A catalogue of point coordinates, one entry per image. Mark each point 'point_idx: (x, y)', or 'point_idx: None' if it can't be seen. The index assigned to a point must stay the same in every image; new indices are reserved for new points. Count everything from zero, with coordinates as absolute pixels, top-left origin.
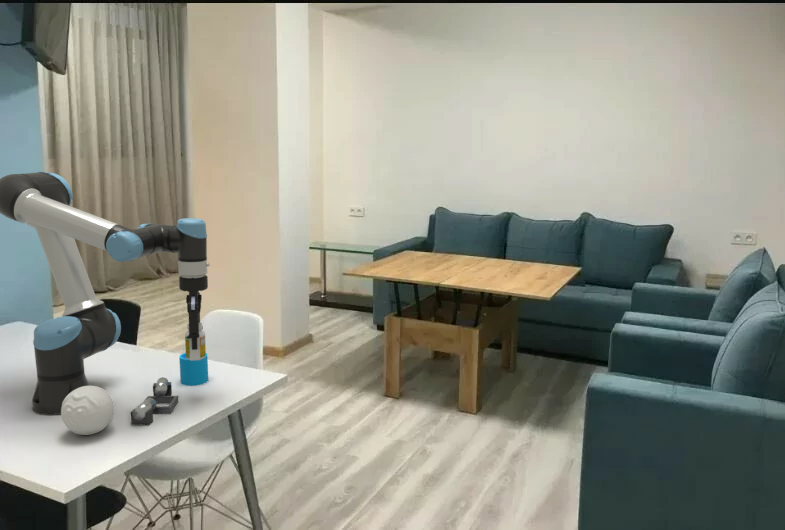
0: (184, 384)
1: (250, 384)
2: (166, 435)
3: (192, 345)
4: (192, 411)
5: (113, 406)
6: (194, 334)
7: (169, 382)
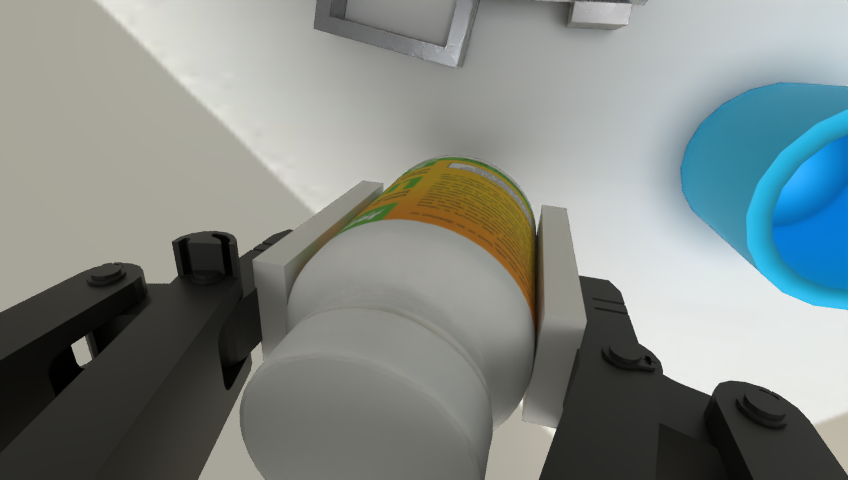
0: (725, 104)
1: None
2: (136, 18)
3: (257, 251)
4: (342, 127)
5: None
6: (86, 340)
7: (621, 12)
